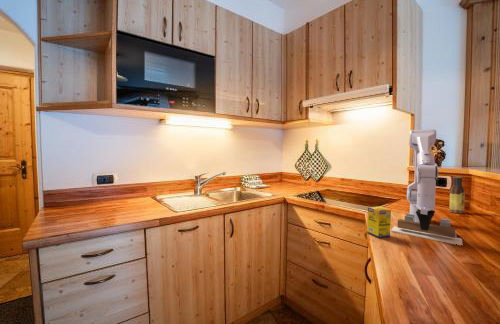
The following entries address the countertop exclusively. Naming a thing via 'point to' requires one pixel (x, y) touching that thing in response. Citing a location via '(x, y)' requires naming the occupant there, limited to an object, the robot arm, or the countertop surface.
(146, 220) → the countertop surface
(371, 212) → the supplement box
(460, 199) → the sauce bottle
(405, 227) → the rail
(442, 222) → the rack
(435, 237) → the mat
